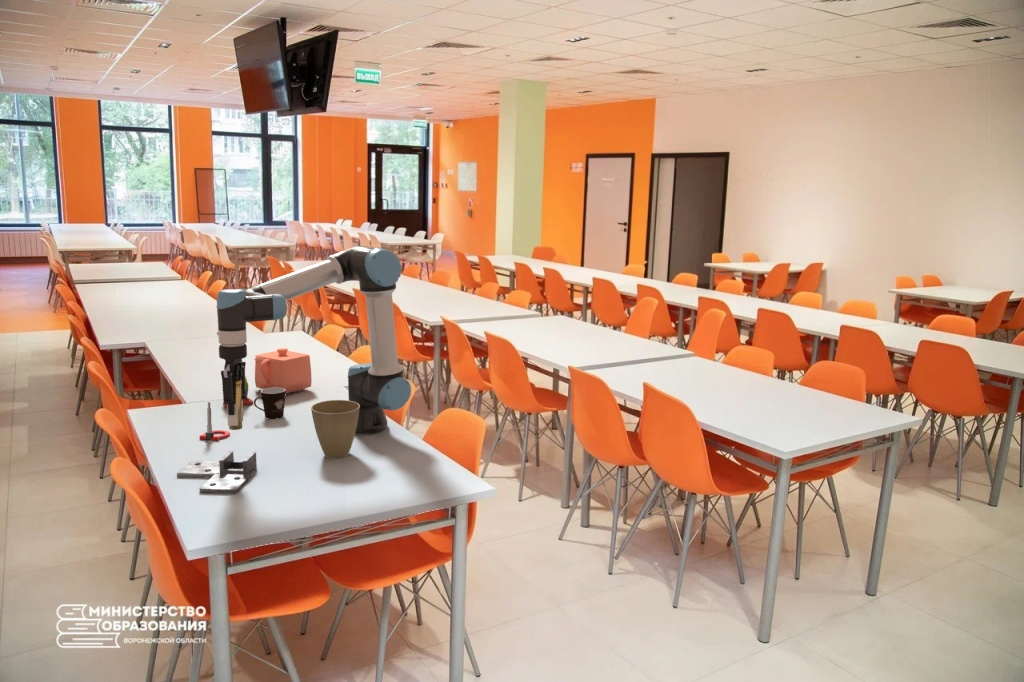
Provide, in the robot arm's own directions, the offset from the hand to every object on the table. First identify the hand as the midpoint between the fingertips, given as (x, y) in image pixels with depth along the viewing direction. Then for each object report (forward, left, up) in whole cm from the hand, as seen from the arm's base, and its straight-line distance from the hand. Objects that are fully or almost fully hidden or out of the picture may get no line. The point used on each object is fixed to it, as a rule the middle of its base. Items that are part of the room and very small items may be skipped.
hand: (235, 422), depth 220 cm
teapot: (+17, -94, -15) cm, 97 cm away
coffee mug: (+8, -55, -15) cm, 58 cm away
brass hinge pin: (0, 0, -2) cm, 2 cm away
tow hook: (+19, -32, -15) cm, 40 cm away
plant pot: (-25, -17, -15) cm, 34 cm away
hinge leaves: (+5, +5, -15) cm, 17 cm away
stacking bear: (+26, -71, -15) cm, 77 cm away
